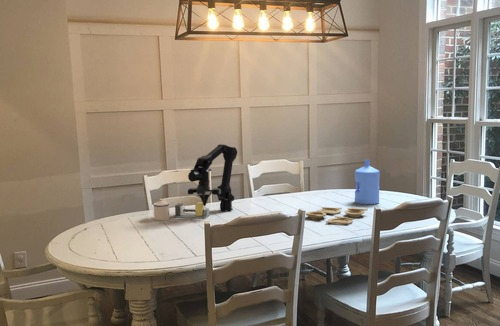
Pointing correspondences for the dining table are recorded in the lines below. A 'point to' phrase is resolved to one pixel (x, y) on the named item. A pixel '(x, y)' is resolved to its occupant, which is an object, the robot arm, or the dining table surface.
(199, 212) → the sleeve
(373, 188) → the water jug
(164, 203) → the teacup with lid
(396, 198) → the dining table surface
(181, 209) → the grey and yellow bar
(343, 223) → the tableware set
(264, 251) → the dining table surface
